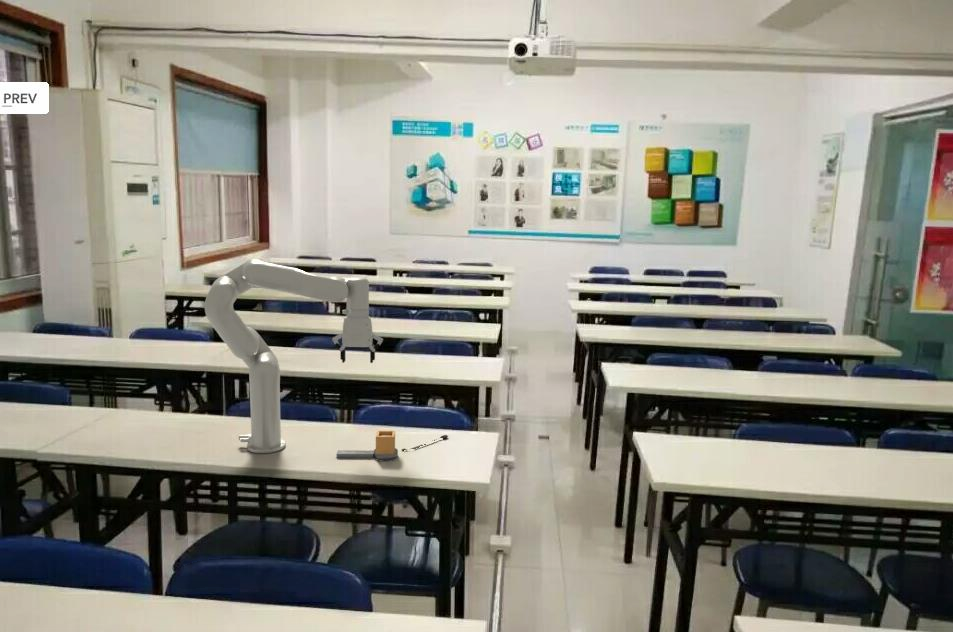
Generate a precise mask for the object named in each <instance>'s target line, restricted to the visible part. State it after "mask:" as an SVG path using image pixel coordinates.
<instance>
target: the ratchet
mask: <svg viewBox="0 0 953 632" xmlns="http://www.w3.org/2000/svg"><path fill="white" fill-rule="evenodd" d="M382 436H391V435H382ZM398 457H399V450H398V449H397V448H396V447H395V451H394V454H376V448H374V449H373V450H359V449H358V450H354V449H353V450H349V449H348V450H346V449H345V450H343V449H342V450H337V452H336V459H374V458H375V459H374V460H376V461H379V462H390V460H392V461H394V459H395V460H396V459H398Z"/></svg>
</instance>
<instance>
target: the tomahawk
mask: <svg viewBox="0 0 953 632" xmlns="http://www.w3.org/2000/svg"><path fill="white" fill-rule="evenodd" d="M448 437H449V435H448V434H444V435H441V436H440V437H439V438H445V439H447V438H448ZM433 440H434V441H435V440H436V439H433ZM423 444H424V443H423ZM424 445H426V444H424ZM420 446H423V445H422V444H419V445H417V446H414V447H411V448H410V449H416V448H419V447H420ZM419 449H420V448H419ZM404 450H407V449H406V448H402V449H401V452H402V451H404ZM416 450H417V449H416Z"/></svg>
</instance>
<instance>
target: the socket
mask: <svg viewBox="0 0 953 632" xmlns="http://www.w3.org/2000/svg"><path fill="white" fill-rule="evenodd" d="M382 435H391V436H382ZM395 448H396V430H379V429H378V430H376V434H375V449H376V454H394V451H395Z"/></svg>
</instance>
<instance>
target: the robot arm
mask: <svg viewBox="0 0 953 632" xmlns="http://www.w3.org/2000/svg"><path fill="white" fill-rule="evenodd" d="M369 286H370V281H369V280H368V278H365V277H359V276H358V277H342V276H330V277H324V276H319V275H315V274H312V273H308V272H306V271H304V270H302V269H299V268H296V267H293V266H285V265H281V264H275V263H271V262H265V261H263V260H262V259H259V258H251V259H249V260H247V261H245V262H244V263H241V264H240V265H239V266H237V267H235V268H234V269H232V270H230V271H228V272H226V273H225V274H223V275H221V276H219V277H217V279H215V280H214V282H213V283H212V285H211V287H210V288H209V291H208V293H207V295H206V296H205V297H206V298H205V301H204V313H205V316H206V318H207V320H208V322H209V323H210V324H211V326H212V328H213V329H214V331H215V332H216V333H217V334H218V336H219V337H220V338H221V340H222V341H223V343H225V345H226V346H227V347H228V349H229V350H230V351H231V353H232V354H233V355H234V356H235V357H236V358H238V359H240V360H242V361H243V363H245V364H246V365H247V367H248V370H249V371H248V373H249V374H248V375H249V376H248V377H249V378H248V379H249V401H250V403H249V404H250V428H251V429H250V433H249V434H239V435H238V440H239V441H240V443H246V449H247V451H249V452H251V453H253V454H272V453H276V452H278V451H281V450H283V449H285V447H286V445H287V444H286V441H285V440H284V439H282V438H281V437H282V435H281V434H282V433H281V432H282V430H281V394H280V393H281V392H280V391H281V390H280V387H281V385H280V384H281V383H280V382H281V373H280V365H279V361H278V358H277V356H276V354H275V353H274V352H273V351H272V350H271V348H270V347H269V345H268V344H267V343H266V342H265V340H264V339H263V338H262V336H261V335H260V334H259V332H257V330H255V329H254V328H253V327H250V326H247V325H246V323H245V322H244V321H243V320H242V318H241V316H239V314H238V313H237V312H236V311H235V308H234V303H235V302H236V300H237V299H238V297H240V296H241V295H243V294H245V293H246V292H247V291H249V290H251V289H253V288H254V287H255V288H260V289H265V290H272V291H277V292H281V293H286V294H292V295H295V296H302V297H305V298H310V299H315V300H321V301H326V302H333V303H340V302H343V301H344V300H345V299H346V308H345V309H342V314H343V315H345V317H344V318H343V323H342V333H340V334H338V335H335V336H333V337H332V338H331V339H332V340H331V341H332V343H334V346H335V348H337V349H338V350H339V352H340V354H339V355H340V360H341V363H342V364H343V363H345V362H346V349H345V348H369V349H370V353H369V355H370V357H369V360H370V361H369V363H370V364H373V363H374V361H375V360H376V353H375V352H376V351H377V350H378V349H379V348H380V347H381V344H382V343H383V342H384V338H382V337H380V336H379V335H377V334H375V333H373V323H372V319H371V317H370V315H369V314H370V312H369V311H370V305H369V304H370V298H369V297H370V287H369ZM340 339H341V340H342V341H341V343H342V344H341V343H340V342H339V340H340ZM373 339H374V340H376V341H377V343H376V344H375V345H374V344H373Z"/></svg>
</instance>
